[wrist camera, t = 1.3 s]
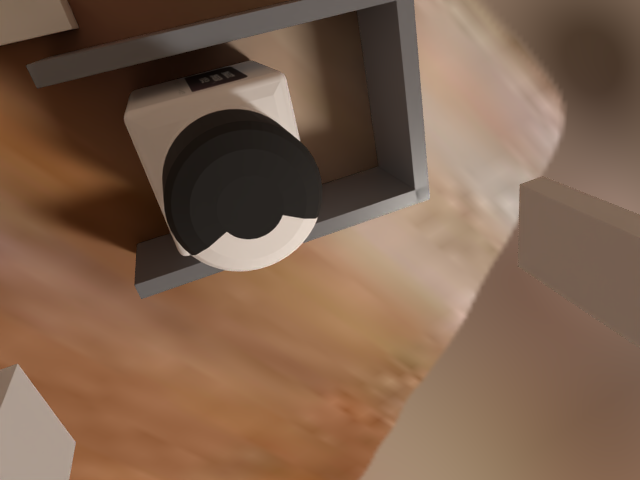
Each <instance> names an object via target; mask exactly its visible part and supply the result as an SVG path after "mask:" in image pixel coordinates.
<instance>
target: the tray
mask: <svg viewBox="0 0 640 480" xmlns="http://www.w3.org/2000/svg"><path fill="white" fill-rule="evenodd" d="M78 28H79V26H78V24H77V21H76V19H75V17H74V14H73V12H72V9H71V7H70V5H69V2H68V0H0V46H2V45H6V44H11V43H15V42H20V41H24V40H29V39H33V38H37V37H42V36H46V35H51V34H55V33H60V32H64V31H69V30H73V29H78Z"/></svg>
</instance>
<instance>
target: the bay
mask: <svg viewBox="0 0 640 480" xmlns="http://www.w3.org/2000/svg"><path fill="white" fill-rule="evenodd" d="M356 10H357V16H358V23H359V31H360V38H361V45H362V52H363V59H364V67H365V74H366V81H367V88H368V95H369V102H370V110H371V117H372V124H373V131H374V138H375V145H376V153H377V160H378V167H375V168H372V169H369V170H366V171H362V172H359V173H356V174H353V175H350V176H347V177H344V178H341V179H338V180H335V181H331V182H328V183H325V184H322V203H321V209H320V212H319V216H318V218H317V221H316V223H315V225H314V227H313V229H312V231H311V232H310V234H309V235H308V237H307V238H306V239H305V241H304V242H303V243H305V242H308V241H310V240H313V239H316V238H319V237H322V236H325V235H328V234H331V233H334V232H336V231H339V230H342V229H345V228H348V227H351V226H354V225H357V224H360V223H362V222H365V221H368V220H371V219H374V218H377V217H380V216H383V215H386V214H389V213H391V212H394V211H397V210H400V209H403V208H406V207H409V206H412V205H415V204H417V203H420V202H423V201H426V200H429V199H430V193H429V181H428V169H427V156H426V144H425V132H424V120H423V108H422V95H421V83H420V71H419V59H418V47H417V34H416V22H415V10H414V0H290V1H286V2H282V3H277V4H273V5H269V6H265V7H260V8H256V9H252V10H247V11H243V12H239V13H235V14H230V15H226V16H222V17H217V18H213V19H209V20H205V21H200V22H196V23H192V24H187V25H183V26H179V27H175V28H170V29H166V30H162V31H157V32H153V33H149V34H145V35H140V36H136V37H132V38H127V39H123V40H119V41H115V42H110V43H106V44H102V45H97V46H93V47H89V48H85V49H80V50H76V51H72V52H67V53H63V54H59V55H54V56H50V57H47V58H44V59H42V60H39V61H36V62H33V63H31V64H28V65H26V67H27V69H28V71H29V73H30V75H31V77H32V79H33V81H34V83H35V85H36V87H37V88H41V87H45V86H50V85H54V84H58V83H62V82H66V81H70V80H74V79H78V78H82V77H86V76H90V75H94V74H99V73H103V72H107V71H111V70H115V69H119V68H123V67H127V66H131V65H135V64H139V63H143V62H147V61H152V60H156V59H160V58H164V57H168V56H172V55H176V54H180V53H184V52H188V51H192V50H196V49H201V48H205V47H209V46H213V45H217V44H221V43H225V42H229V41H233V40H237V39H241V38H245V37H249V36H254V35H258V34H262V33H266V32H270V31H274V30H278V29H282V28H286V27H290V26H294V25H298V24H303V23H307V22H311V21H315V20H319V19H323V18H327V17H331V16H335V15H339V14H343V13H347V12H352V11H356ZM221 271H224V270H223V269H218V268H215V267H212V266H209V265H207V264H205V263H203V262H201V261H199V260H197V259H196V258H194V257H193V256H191V255H189V256H183V255H181V254H180V253H179V251H178V249H177V247H176V244H175V242H174V240H173V237H172V235H171V233H170V234H167V235H164V236H161V237H157V238H154V239H151V240H148V241H145V242H142V243H139V244H137V251H136V268H135V284H134V285H135V287H136V289H137V291H138V293H139V295H140V297H141V299H143V298H146V297H149V296H151V295H154V294H157V293H160V292H163V291H166V290H169V289H172V288H175V287H177V286H180V285H183V284H186V283H189V282H192V281H195V280H198V279H201V278H203V277H206V276H209V275H212V274H215V273H218V272H221Z"/></svg>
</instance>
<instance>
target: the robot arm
mask: <svg viewBox="0 0 640 480" xmlns="http://www.w3.org/2000/svg"><path fill="white" fill-rule="evenodd" d="M518 267H519V268H521V269H522V270H524V271H525V272H527V273H528V274H530V275H531V276H533V277H534V278H536V279H537V280H539V281H541V282H542V283H543V284H545V285H546V286H548V287H549V288H551V289H552V290H554V291H555V292H557V293H558V294H560V295H561V296H563V297H564V298H566V299H567V300H569V301H570V302H572V303H573V304H575V305H576V306H578V307H579V308H580V309H582V310H583V311H585V312H586V313H588V314H590V315H591V316H592V317H594V318H595V319H597V320H599V321H600V322H602V323H603V324H604V325H606V326H607V327H609V328H610V329H612V330H613V331H615V332H616V333H618V334H619V335H621V336H622V337H624V338H625V339H627V340H628V341H630V342H631V343H633V344H634V345H636V346H637V347H639V348H640V215H639V214H637V213H634V212H632V211H629V210H627V209H624V208H622V207H619V206H617V205H614V204H612V203H609V202H607V201H604V200H601V199H599V198H597V197H594V196H591V195H589V194H586V193H584V192H581V191H579V190H576V189H574V188H571V187H569V186H566V185H564V184H561V183H559V182H556V181H553V180H551V179H549V178H546V177H544V176H542V177H539V178H537V179H534V180H531V181H528V182H525V183H523V184H520V199H519V240H518ZM75 443H76V442H75V441H74V439H73V438H72V437H71V435H70V434H69V433H68V431H67V430H66V429H65V427H64V426H63V424H62V423H61V422H60V420H59V419H58V418H57V416H56V415H55V414H54V412H53V411H52V410H51V408H50V407H49V405H48V404H47V403H46V401H45V400H44V399H43V397H42V396H41V395H40V393H39V392H38V391H37V389H36V388H35V386H34V385H33V384H32V382H31V381H30V380H29V378H28V377H27V376H26V374H25V373H24V372H23V370H22V369H21V367H20V366H19V365H18V364H15V365H12V366H10V367H7V368H4V369H1V370H0V480H69V477H70V472H71V466H72V460H73V455H74V449H75Z"/></svg>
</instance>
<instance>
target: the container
mask: <svg viewBox="0 0 640 480" xmlns="http://www.w3.org/2000/svg"><path fill="white" fill-rule="evenodd" d="M124 122H125V125H126V127H127V130H128V132H129V134H130V137H131V139H132V142H133V144H134V146H135V149H136V151H137V154H138V156H139V158H140V161H141V163H142V166H143V168H144V170H145V173H146V175H147V178H148V180H149V182H150V185H151V187H152V189H153V192H154V194H155V197H156V199H157V201H158V204H159V206H160V209H161V211H162V213H163V216H164V218H165V221H166V223H167V225H168V228H169V230H170V233H171V235H172V237H173V240H174V242H175V244H176V247H177V249H178V251H179V253H180V254H181V255H183V256H189V255H191V256H193V257H194V258H196V259H197V260H199V261H201V262H203V263H205V264H207V265H209V266H212V267H215V268H218V269H223V270H228V271H250V270H256V269H261V268H264V267H267V266H270V265H272V264H274V263H276V262H279V261H280V260H282V259H284V258H285V257H287V256H288V255H290V254H291V253H292V252H294V251H295V250H296V249H297V248H298V247H299V246H300V245H301V244H302V243H303V242H304V241H305V239H306V238H307V237H308V235H309V234H310V232H311V231H312V229H313V227H314V225H315V223H316V221H317V218H318V216H319V212H320V209H321V203H322V182H321V177H320V173H319V170H318V167H317V165H316V162H315V160H314V158H313V157H312V155H311V154H310V152H309V151H308V149H307V148H306V147H305V146H304V145H303V144H302V143H301V142H300V137H299V133H298V129H297V124H296V120H295V115H294V111H293V107H292V102H291V98H290V93H289V89H288V84H287V80H286V77H285V75H284V74H283V73H281V72H280V71H277V70H275V69H272V68H270V67H267V66H265V65H262V64H259V63H257V62H254V61H246V62H242V63H238V64H234V65H230V66H226V67H222V68H218V69H215V70H211V71H207V72H203V73H199V74H195V75H191V76H187V77H184V78H180V79H176V80H172V81H168V82H164V83H160V84H156V85H153V86H149V87H145V88H141V89H137V90H134V91H132V92H131V94H130V96H129V100H128V104H127V107H126V111H125V114H124Z"/></svg>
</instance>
